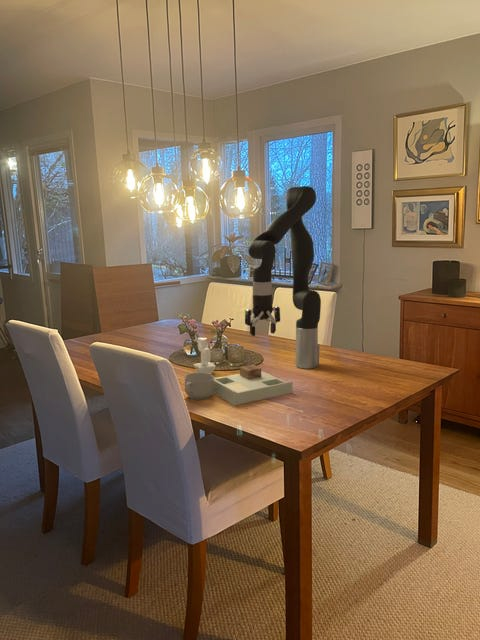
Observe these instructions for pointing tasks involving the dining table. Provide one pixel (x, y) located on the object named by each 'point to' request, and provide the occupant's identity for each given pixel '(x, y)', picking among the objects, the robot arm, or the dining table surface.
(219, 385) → the box
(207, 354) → the figurine
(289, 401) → the dining table surface
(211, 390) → the teacup
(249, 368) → the block
